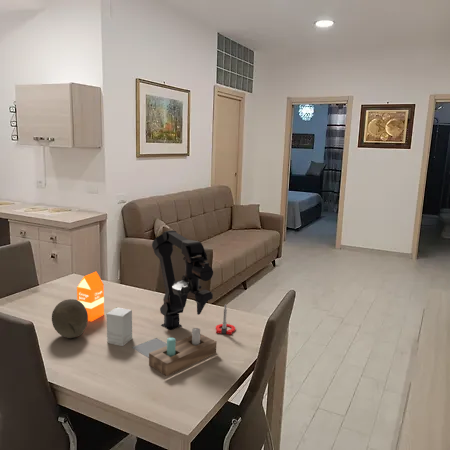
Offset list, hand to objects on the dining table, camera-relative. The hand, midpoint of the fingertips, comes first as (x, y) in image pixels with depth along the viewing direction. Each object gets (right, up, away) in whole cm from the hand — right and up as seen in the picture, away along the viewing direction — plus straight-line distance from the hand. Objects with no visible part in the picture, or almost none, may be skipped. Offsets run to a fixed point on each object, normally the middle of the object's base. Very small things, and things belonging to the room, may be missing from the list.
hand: (191, 310), depth 170 cm
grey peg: (+2, -15, -8) cm, 17 cm away
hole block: (-2, -16, -13) cm, 20 cm away
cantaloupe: (-49, -11, +2) cm, 50 cm away
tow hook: (+14, -11, +14) cm, 22 cm away
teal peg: (-6, -16, -17) cm, 24 cm away
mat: (-14, -14, -6) cm, 20 cm away
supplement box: (-28, -12, -1) cm, 31 cm away
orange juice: (-47, -7, +22) cm, 52 cm away
